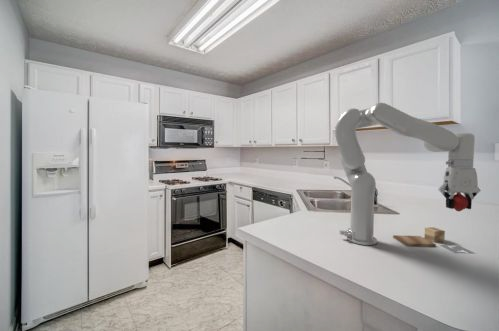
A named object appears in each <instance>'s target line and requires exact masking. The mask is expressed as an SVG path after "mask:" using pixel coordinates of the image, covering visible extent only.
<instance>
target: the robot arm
mask: <svg viewBox="0 0 499 331" xmlns="http://www.w3.org/2000/svg"><path fill="white" fill-rule="evenodd" d="M376 125H380V126H382V127H384V128H385V129H388V130H390V131H392V132H394V133H396V134H398V135H400V136H403V137H408V138H414V139H417V140H420V141H422V142H423V146H424V147H425V149H426V150H427V151H429V152H433V153H439V152H440V153H441V152H442V153H443V152H448V158H447V159H448V160H447V161H445V164H446V165H447V167H446V168H445V171H444V174H443V175H444V176H443V183H442V185H440V186H439V187H438V192H440V193H441V194H442V196H444V198H445V207H446V208H447V209H449V210H450V209H451V210H454V199H452V198H453V196H454V195H455V194H457V193H461V194H462V193H463V196H465V197H466V198H467V200H468V206H467V208H466V210H471V209H472V200H474V198H475V197H476V196H477V194H479V193H480V192H481V189H480V187H478V186H479V185H478V174H477V169H476V167H474V158H475V156H474V155H475V139H476V138H475V135H474V134H473V133H469V132H468V133H466V132H465V133H454V132H453V131H450V130H449V129H447V128H445V127H443V126H441V125H438V124H437V123H433V122H430V121H426V120H424V119H421V118H417V117H415V116H412V115H409V114H408V113H405V112H404V111H402V110H400V109H398V108H396V107H394V106H391V105H390V104H388V103H385V102H377V103H375V104H373V105H372V106H371V107H369V108H365V109H362V110H359V109H358V108H355V107H354V108H352V107H351V108H349V109H347V110H345V111H344V113H342V114H341V116H340V117H339V119H338V120H337V122H336V126H335V131H334V132H335V133H334V134H335V138H336V144H337V146H338V150H339V151H340V155H341V158H340V160H341V161H340V162H341V166H342V167H343V170H344V172H345V176H346V178H347V180H348V183H349V185H350V186H351V190H350V191H351V192H350V227H349V228H348V229H346V230H339V232H338V233H339V235H341V236H342V235H343V236H344V237H346V239H347V241H349V242H351V243H353V244H356V245H363V246H374V245H377V243H378V239H377V238H376V237H375V236H374V228H375V227H374V225H375V224H374V223H375V221H374V220H375V195H376V194H375V193H376V186H377V185H376V184H377V182H376V179H375V177H374V176H373V174H371V173H370V172H368V170H367V168H366V164H365V163H366V158H365V155H364V152H363V151H362V147H361V146H360V143H359V140H358V137H357V130H358V129H363V128H367V127H371V126H376Z"/></svg>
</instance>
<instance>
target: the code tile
mask: <svg viewBox="0 0 499 331" xmlns="http://www.w3.org/2000/svg"><path fill="white" fill-rule="evenodd" d="M439 246H440V247H442V248H444V249H446V250H448V251H450V252H452V253H454V254H467V255H469V254H471V255H473V254H474V255H476V254H477V253H475V252H473V251H472V250H469V249H467V248H466V247H463V246H461V245H454V244H453V245H451V244H450V245H447V244H445V245H444V244H439Z"/></svg>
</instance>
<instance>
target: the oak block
mask: <svg viewBox="0 0 499 331" xmlns="http://www.w3.org/2000/svg"><path fill="white" fill-rule="evenodd" d="M445 234H446V231H445V230H444V229H440V228H439V227H432V226H431V227H424V238H425V239H427V240H430V241H432V242H445V237H446V235H445Z"/></svg>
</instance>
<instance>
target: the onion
mask: <svg viewBox="0 0 499 331" xmlns="http://www.w3.org/2000/svg"><path fill="white" fill-rule="evenodd" d="M452 199H454V208H453V210H455V211H456V212H461V211H463V210H465V209H467V206H468V200H467V198H466V197H465V196H464V194H462V193H455V194H454V196H453V198H452Z"/></svg>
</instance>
